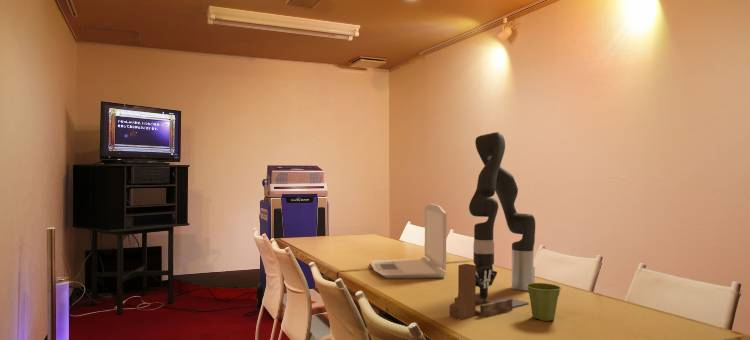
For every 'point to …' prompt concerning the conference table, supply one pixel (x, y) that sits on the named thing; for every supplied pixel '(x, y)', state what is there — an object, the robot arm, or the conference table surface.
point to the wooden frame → (491, 306)
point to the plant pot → (543, 300)
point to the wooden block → (465, 293)
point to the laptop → (433, 251)
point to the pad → (514, 302)
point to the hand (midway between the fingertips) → (483, 297)
